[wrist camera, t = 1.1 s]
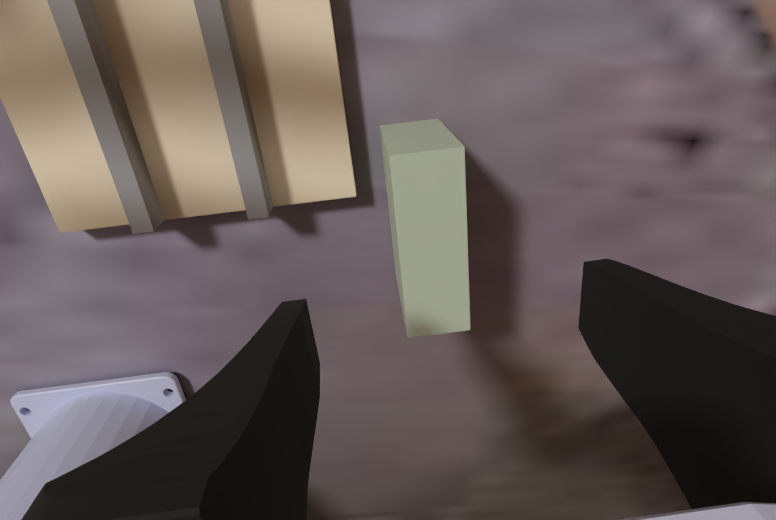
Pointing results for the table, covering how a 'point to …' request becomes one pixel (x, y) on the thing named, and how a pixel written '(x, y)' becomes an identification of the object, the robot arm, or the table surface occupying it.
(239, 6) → the track board
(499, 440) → the table surface
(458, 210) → the pale green block
